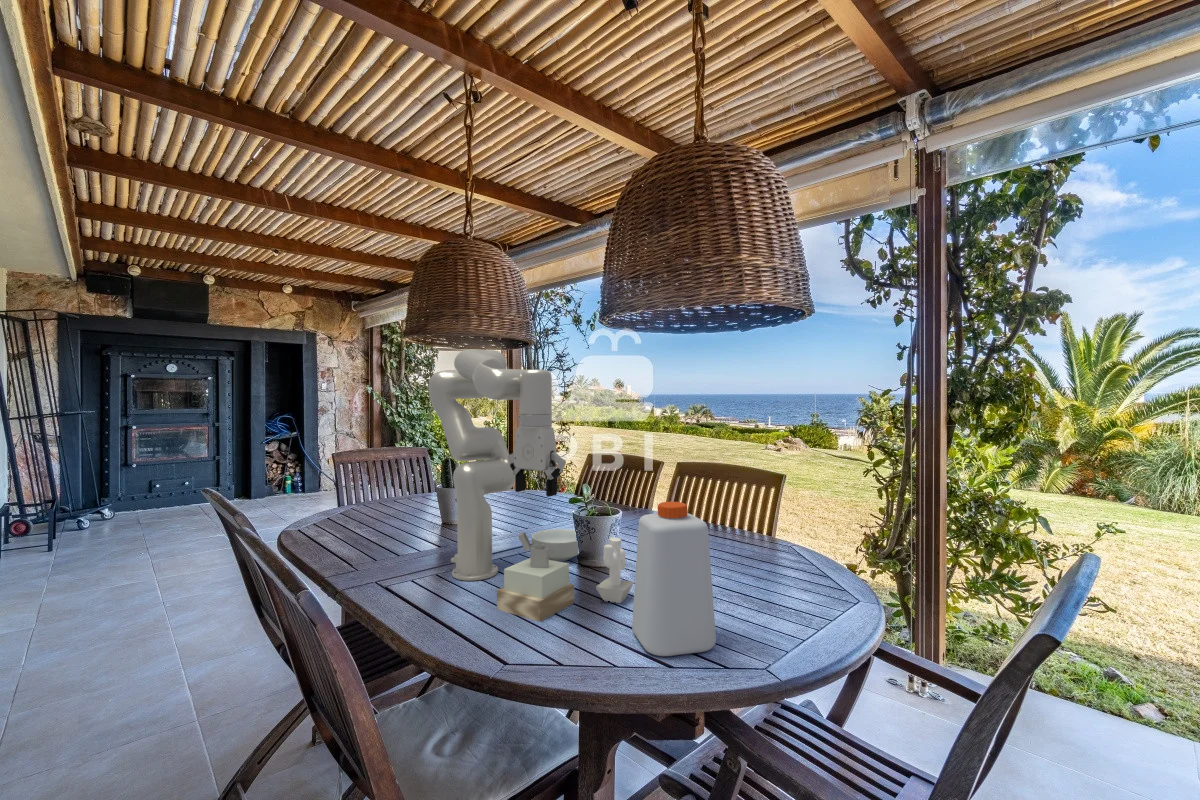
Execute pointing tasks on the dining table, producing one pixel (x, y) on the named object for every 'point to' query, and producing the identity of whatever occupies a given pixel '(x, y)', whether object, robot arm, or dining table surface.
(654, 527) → the plastic bottle
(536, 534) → the cereal bowl
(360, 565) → the dining table surface
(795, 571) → the dining table surface
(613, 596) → the figurine
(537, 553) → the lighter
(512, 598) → the birch base block
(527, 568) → the sage top block
